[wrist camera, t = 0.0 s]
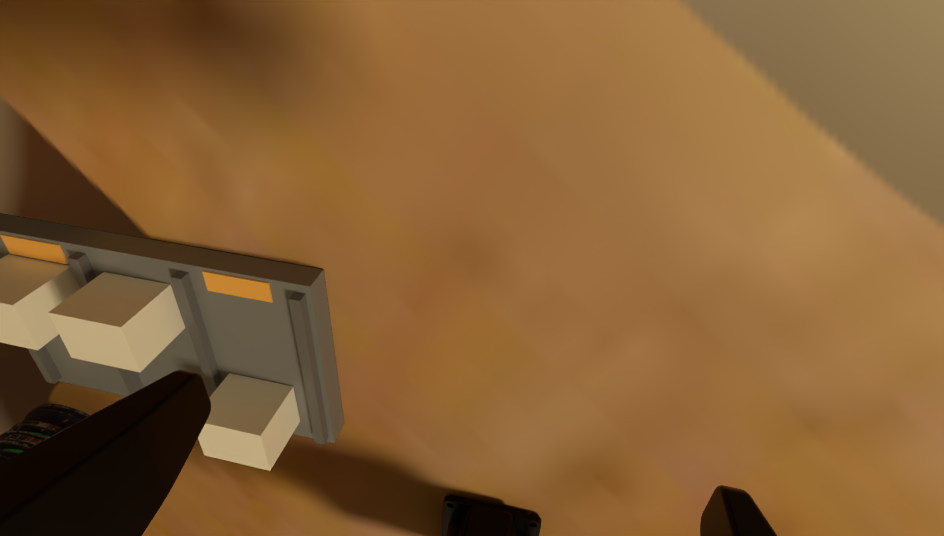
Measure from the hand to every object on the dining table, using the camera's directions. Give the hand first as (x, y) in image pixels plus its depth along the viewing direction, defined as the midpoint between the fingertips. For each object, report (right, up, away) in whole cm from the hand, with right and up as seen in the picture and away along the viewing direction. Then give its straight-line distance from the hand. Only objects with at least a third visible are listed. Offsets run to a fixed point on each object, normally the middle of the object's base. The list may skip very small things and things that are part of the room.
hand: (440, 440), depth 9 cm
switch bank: (-17, 0, +23) cm, 29 cm away
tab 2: (-12, -5, +23) cm, 26 cm away
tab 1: (-17, +1, +20) cm, 26 cm away
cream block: (-23, +2, +21) cm, 31 cm away
